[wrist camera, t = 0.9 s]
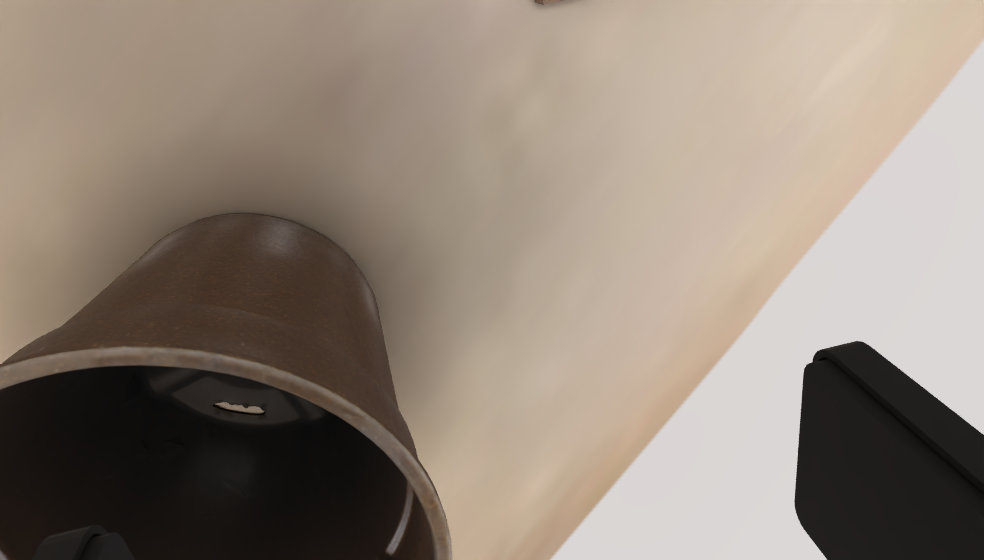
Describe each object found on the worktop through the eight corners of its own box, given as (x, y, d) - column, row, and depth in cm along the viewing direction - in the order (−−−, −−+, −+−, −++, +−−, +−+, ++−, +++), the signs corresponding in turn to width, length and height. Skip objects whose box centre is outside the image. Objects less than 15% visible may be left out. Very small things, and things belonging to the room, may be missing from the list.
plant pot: (84, 456, 35) (-107, 796, 21) (51, 149, 29) (-254, 334, 15) (400, 459, 39) (422, 752, 25) (433, 186, 33) (488, 365, 18)
